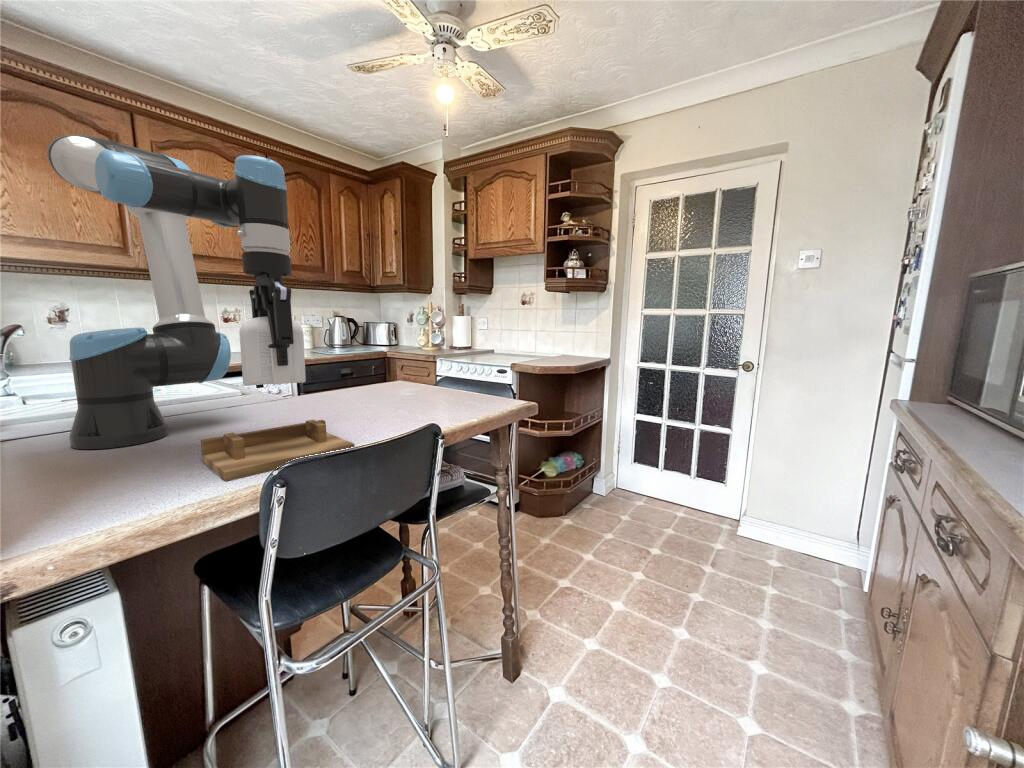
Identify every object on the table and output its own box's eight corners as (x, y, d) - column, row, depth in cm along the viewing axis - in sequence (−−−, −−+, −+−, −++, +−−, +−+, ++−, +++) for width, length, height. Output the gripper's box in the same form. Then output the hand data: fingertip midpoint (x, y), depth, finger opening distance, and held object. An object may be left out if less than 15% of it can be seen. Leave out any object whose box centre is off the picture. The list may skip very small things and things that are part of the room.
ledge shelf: (202, 461, 75) (199, 434, 75) (323, 437, 92) (322, 415, 91) (225, 481, 66) (222, 451, 66) (354, 450, 83) (353, 426, 82)
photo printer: (304, 380, 82) (300, 317, 80) (308, 383, 78) (304, 317, 77) (242, 384, 76) (236, 316, 74) (243, 387, 73) (237, 316, 71)
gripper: (226, 255, 77) (237, 379, 80) (260, 244, 65) (271, 389, 69) (271, 260, 82) (279, 375, 86) (309, 250, 71) (317, 385, 74)
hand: (276, 381), depth 77 cm, fingers closed on photo printer, 5 cm apart
